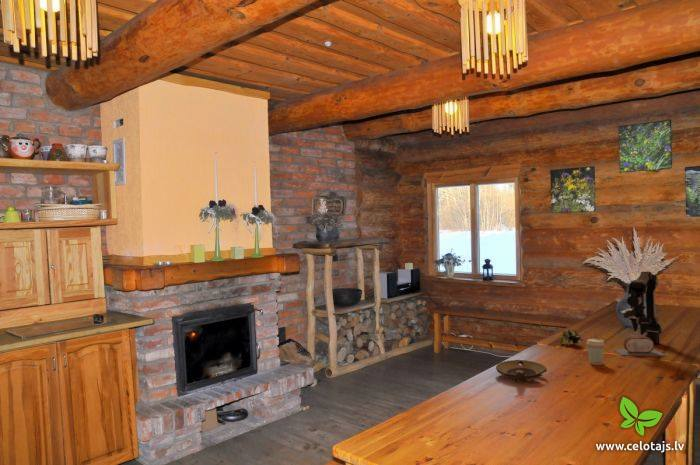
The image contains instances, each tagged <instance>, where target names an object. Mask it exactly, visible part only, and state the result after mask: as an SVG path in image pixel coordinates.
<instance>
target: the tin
mask: <svg viewBox="0 0 700 465" xmlns="http://www.w3.org/2000/svg"><path fill="white" fill-rule="evenodd" d="M622 346H623V349H626V350H628V351H629V352H635V353H649V352H651V351H652V350H655V349H654V348H655V344H654V342H653V341H652V340H651V339H650V338H648V337H645V336H628V337H626V338H625V339H624V340H623V345H622Z"/></svg>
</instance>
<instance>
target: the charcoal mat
mask: <svg viewBox="0 0 700 465" xmlns="http://www.w3.org/2000/svg"><path fill="white" fill-rule="evenodd" d="M612 351H613V352H614V353H616V352H617V354H618V355H620V356H621V357H625V356H626V357H666V355H665V354H664V353H662V352H660V351H658V350H656V349H653V350H652V351H651V352H649V353H635V352H629V351H628V350H626V349H625V348H622V349H620V348H619V349H618V348H617V349H616V348H614V349H612Z"/></svg>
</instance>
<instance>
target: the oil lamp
mask: <svg viewBox="0 0 700 465" xmlns="http://www.w3.org/2000/svg"><path fill="white" fill-rule="evenodd" d="M495 370H496V372H498V373H499V374H501V375H502V376H504V377H507V378H509V379H512V380H515V381H517V382H520V383H521V382H524V381H529V380H534V379H537V378H540V377H542V376H543V374H544V373H546V372H547V371H548V369H547V367H546V366H545V365H544V364H541V363H539V362H534V361H532V360H527V359H526V360H523V359H522V360H521V359H513V360H504V361H502V362H499V363H497V365H496V366H495Z"/></svg>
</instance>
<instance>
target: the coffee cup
mask: <svg viewBox="0 0 700 465" xmlns="http://www.w3.org/2000/svg"><path fill="white" fill-rule="evenodd" d="M586 345H587V346H586V347H587V353H588V354H587V356H588V361H589V365H592V366H593V365H594V366H602V365H603V360H604V352H605V351H604V350H605V345H606V344H605V341H604V339H599V338H588V339H587V341H586Z"/></svg>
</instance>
